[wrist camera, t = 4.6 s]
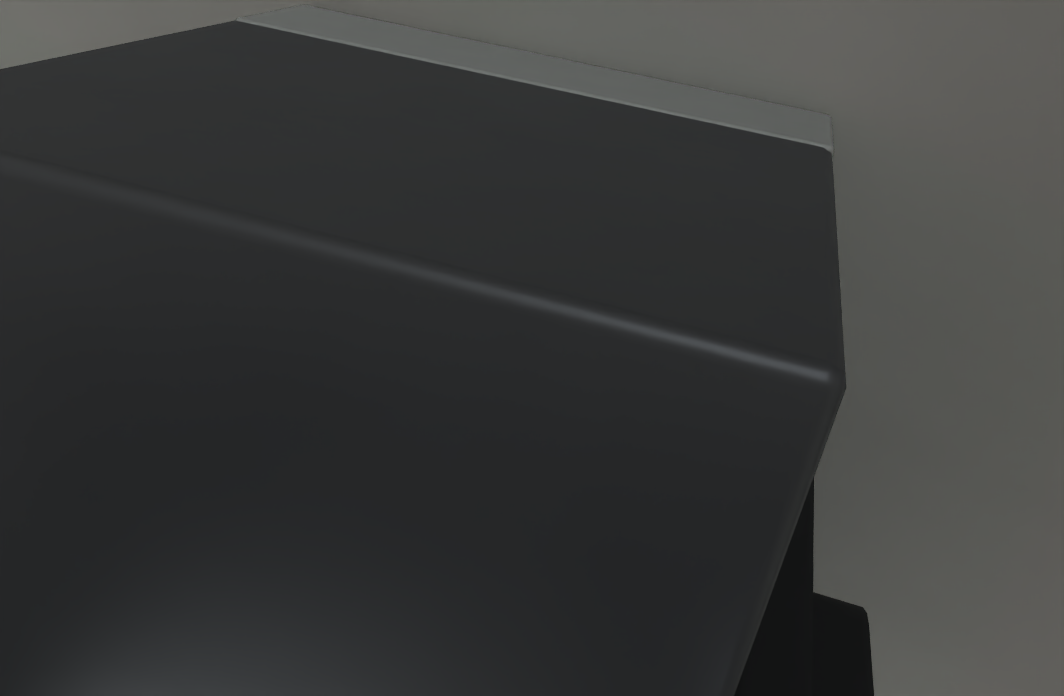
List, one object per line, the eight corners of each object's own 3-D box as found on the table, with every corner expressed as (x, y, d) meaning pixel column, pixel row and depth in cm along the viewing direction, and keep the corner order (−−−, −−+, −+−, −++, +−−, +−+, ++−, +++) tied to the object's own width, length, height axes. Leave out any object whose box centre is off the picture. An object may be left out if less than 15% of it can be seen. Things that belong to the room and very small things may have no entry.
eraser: (301, 3, 9) (-207, 104, 4) (833, 113, 8) (855, 379, 4) (281, 672, 13) (13, 1061, 9) (627, 792, 12) (520, 1289, 8)
